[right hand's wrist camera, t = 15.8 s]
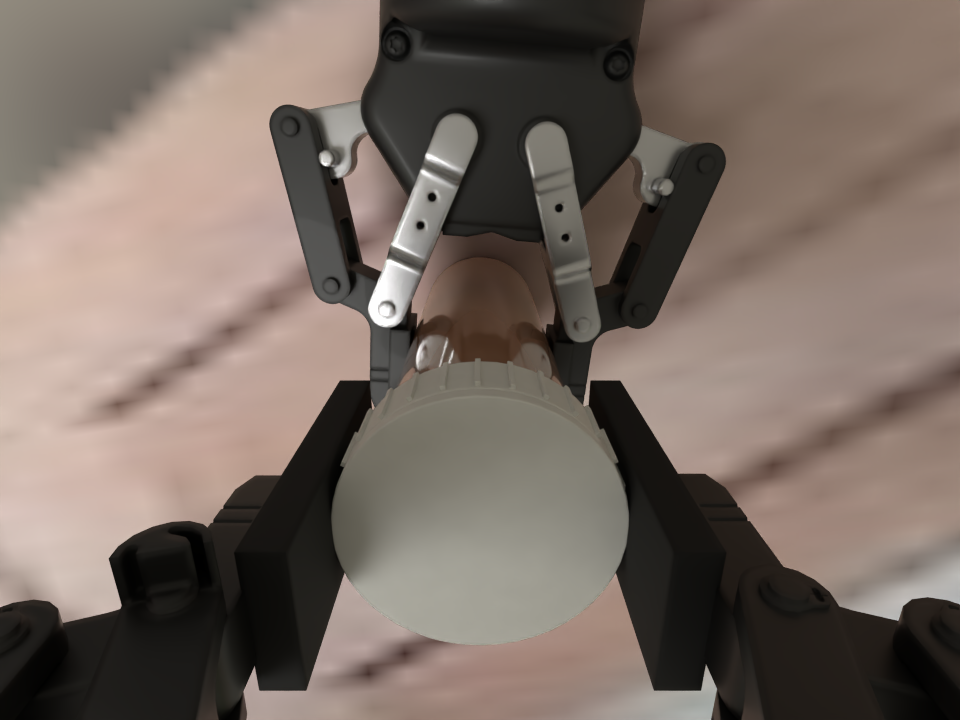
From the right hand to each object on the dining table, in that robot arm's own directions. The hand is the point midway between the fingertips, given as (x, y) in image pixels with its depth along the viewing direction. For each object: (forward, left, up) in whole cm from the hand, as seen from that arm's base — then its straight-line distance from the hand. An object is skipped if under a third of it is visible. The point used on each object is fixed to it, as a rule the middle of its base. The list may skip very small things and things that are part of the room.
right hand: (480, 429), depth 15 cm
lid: (0, 0, +4) cm, 4 cm away
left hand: (0, -3, -6) cm, 6 cm away
